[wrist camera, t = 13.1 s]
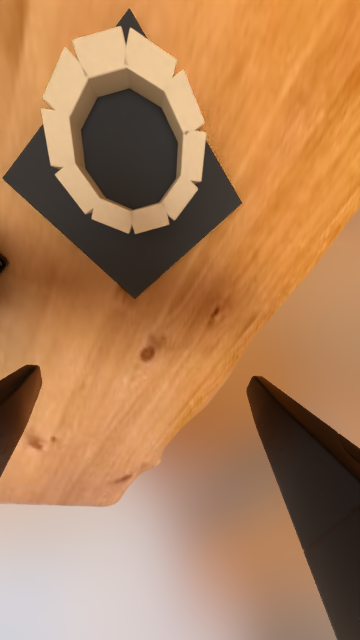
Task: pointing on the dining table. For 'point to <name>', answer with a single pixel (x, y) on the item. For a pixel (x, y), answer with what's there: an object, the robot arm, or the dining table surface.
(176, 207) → the beige segmented ring
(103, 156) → the rubber mat
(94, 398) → the dining table surface
